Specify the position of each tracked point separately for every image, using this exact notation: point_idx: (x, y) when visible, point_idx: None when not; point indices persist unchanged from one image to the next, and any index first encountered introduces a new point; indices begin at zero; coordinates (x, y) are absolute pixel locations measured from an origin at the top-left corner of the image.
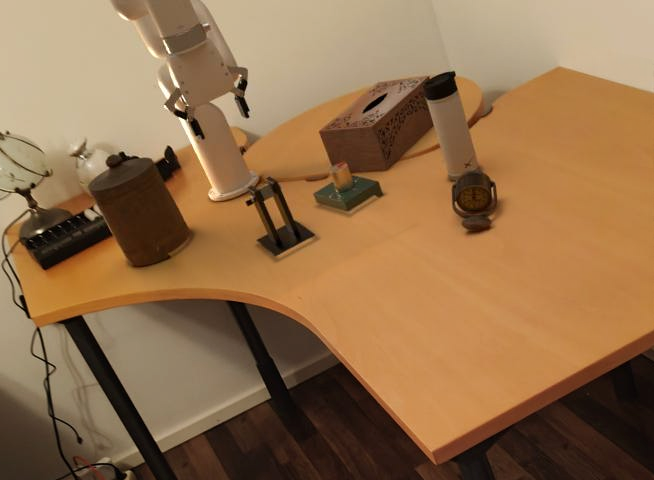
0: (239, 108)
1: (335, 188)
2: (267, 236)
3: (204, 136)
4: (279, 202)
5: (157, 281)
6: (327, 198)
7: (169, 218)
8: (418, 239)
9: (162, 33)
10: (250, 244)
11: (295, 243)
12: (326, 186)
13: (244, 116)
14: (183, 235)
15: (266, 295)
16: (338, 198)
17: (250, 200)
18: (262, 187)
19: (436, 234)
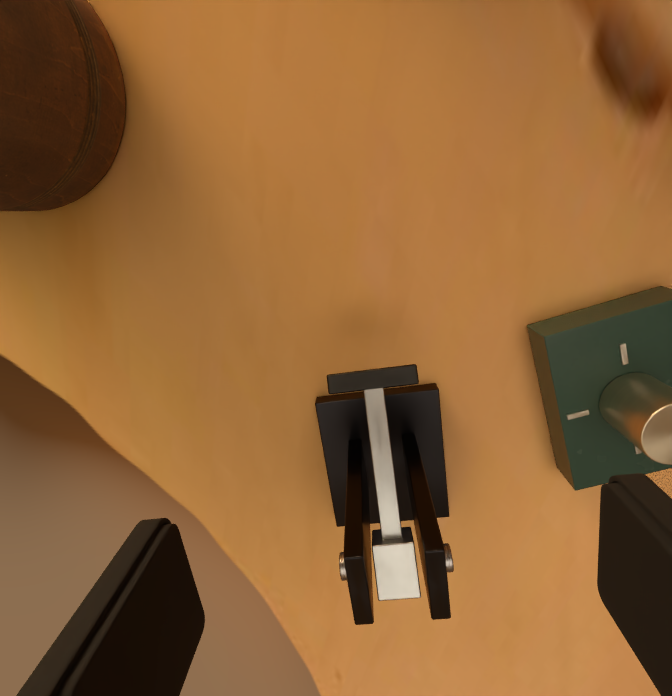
0: (656, 580)
1: (604, 406)
2: (346, 413)
3: (199, 633)
4: (418, 540)
5: (30, 338)
6: (558, 411)
7: (23, 170)
8: (594, 677)
9: None
10: (297, 370)
11: None
12: (598, 328)
13: (605, 572)
14: (94, 161)
15: (284, 622)
16: (578, 450)
17: (345, 392)
18: (392, 599)
19: (626, 688)
